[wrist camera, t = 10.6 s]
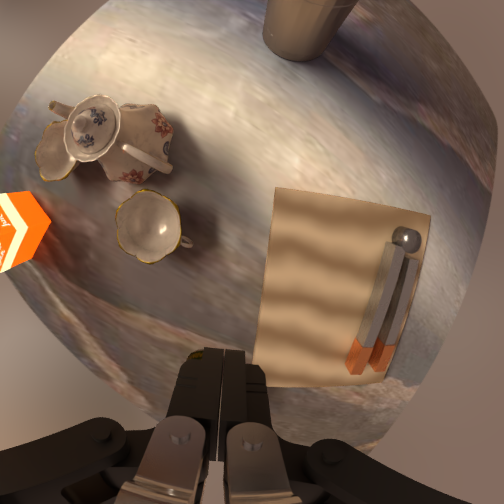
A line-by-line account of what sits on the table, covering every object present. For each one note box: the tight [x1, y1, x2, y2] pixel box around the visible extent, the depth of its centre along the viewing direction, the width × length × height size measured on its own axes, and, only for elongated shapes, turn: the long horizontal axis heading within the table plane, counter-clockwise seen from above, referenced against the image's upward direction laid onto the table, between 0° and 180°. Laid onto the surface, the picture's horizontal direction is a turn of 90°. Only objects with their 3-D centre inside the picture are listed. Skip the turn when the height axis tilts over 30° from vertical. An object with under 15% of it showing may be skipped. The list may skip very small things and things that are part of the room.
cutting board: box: [252, 187, 431, 387], centre depth 38 cm, size 30×24×2 cm
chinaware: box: [35, 94, 193, 264], centre depth 26 cm, size 28×17×17 cm, turn 57°
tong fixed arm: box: [368, 255, 419, 372], centre depth 36 cm, size 18×2×3 cm, turn 174°
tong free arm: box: [345, 226, 422, 375], centre depth 35 cm, size 23×4×3 cm, turn 169°
